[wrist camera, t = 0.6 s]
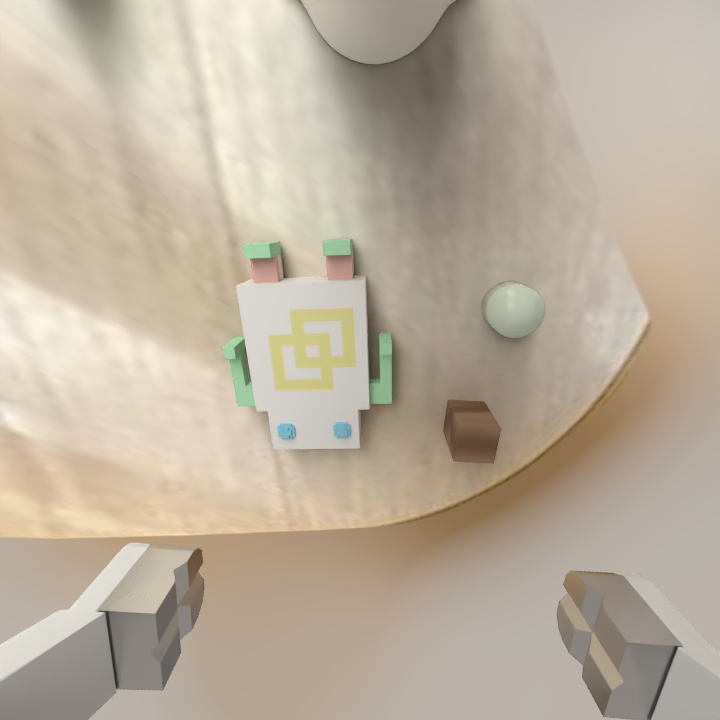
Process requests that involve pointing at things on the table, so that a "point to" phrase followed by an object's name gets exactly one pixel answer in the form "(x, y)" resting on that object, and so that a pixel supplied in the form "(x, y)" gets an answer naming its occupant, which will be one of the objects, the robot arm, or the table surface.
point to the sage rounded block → (513, 309)
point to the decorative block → (307, 349)
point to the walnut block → (471, 431)
